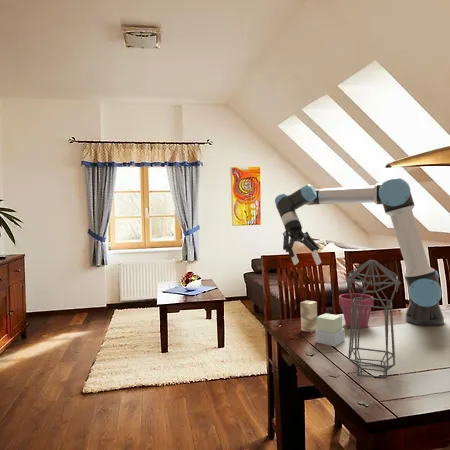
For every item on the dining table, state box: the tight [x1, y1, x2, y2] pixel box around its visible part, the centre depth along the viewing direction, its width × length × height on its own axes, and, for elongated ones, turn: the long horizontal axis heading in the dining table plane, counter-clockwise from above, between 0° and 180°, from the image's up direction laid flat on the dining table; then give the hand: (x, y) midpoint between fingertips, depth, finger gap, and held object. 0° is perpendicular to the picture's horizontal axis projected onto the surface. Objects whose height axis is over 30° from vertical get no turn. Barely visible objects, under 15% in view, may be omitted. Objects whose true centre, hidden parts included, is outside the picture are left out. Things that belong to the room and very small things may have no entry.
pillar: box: [299, 300, 318, 333], centre depth 162 cm, size 5×5×12 cm
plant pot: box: [338, 293, 375, 329], centre depth 166 cm, size 14×14×13 cm
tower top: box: [317, 312, 343, 333], centre depth 146 cm, size 7×7×5 cm
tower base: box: [315, 327, 346, 347], centre depth 146 cm, size 8×8×5 cm
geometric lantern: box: [345, 259, 402, 379], centre depth 117 cm, size 16×16×35 cm
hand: (308, 263), depth 165 cm, fingers open, 13 cm apart
